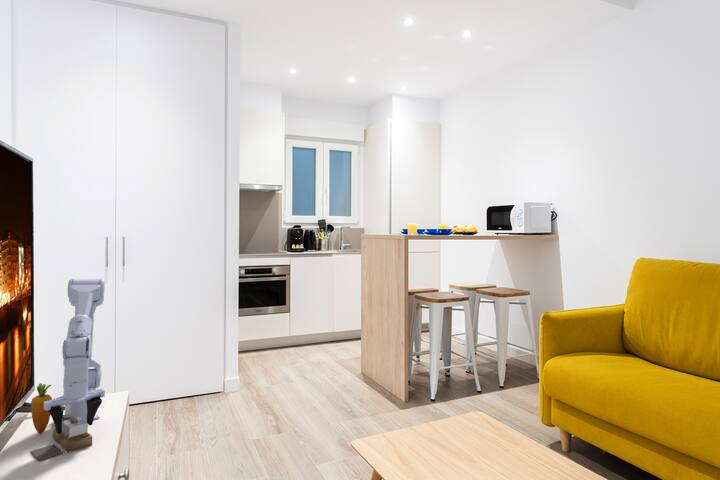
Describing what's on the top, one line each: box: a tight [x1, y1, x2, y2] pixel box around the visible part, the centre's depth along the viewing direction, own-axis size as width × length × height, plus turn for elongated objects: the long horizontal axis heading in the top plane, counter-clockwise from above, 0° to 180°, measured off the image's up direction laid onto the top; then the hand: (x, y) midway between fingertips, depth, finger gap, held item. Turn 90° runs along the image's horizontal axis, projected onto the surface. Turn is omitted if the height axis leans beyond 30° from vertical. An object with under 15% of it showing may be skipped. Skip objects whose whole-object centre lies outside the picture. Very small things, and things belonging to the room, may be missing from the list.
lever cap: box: [61, 416, 89, 440], centre depth 125 cm, size 6×4×4 cm
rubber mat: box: [30, 443, 64, 462], centre depth 119 cm, size 7×6×1 cm
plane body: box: [52, 414, 93, 453], centre depth 126 cm, size 12×6×6 cm, turn 51°
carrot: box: [30, 382, 53, 436], centre depth 130 cm, size 5×5×15 cm
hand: (74, 428), depth 125 cm, fingers open, 7 cm apart
